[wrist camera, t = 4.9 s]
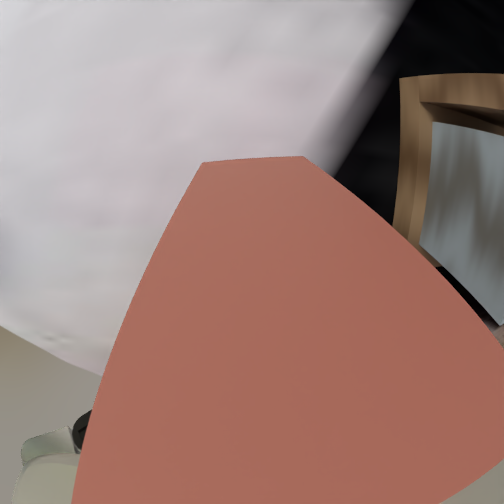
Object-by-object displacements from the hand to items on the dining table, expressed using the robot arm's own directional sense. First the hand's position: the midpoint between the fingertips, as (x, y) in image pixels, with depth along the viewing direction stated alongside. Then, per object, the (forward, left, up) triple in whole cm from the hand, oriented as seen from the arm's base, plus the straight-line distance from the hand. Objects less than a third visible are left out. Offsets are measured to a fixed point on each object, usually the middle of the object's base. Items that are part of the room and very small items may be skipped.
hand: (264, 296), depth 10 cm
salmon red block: (0, 0, -3) cm, 3 cm away
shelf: (-3, +21, -7) cm, 22 cm away
